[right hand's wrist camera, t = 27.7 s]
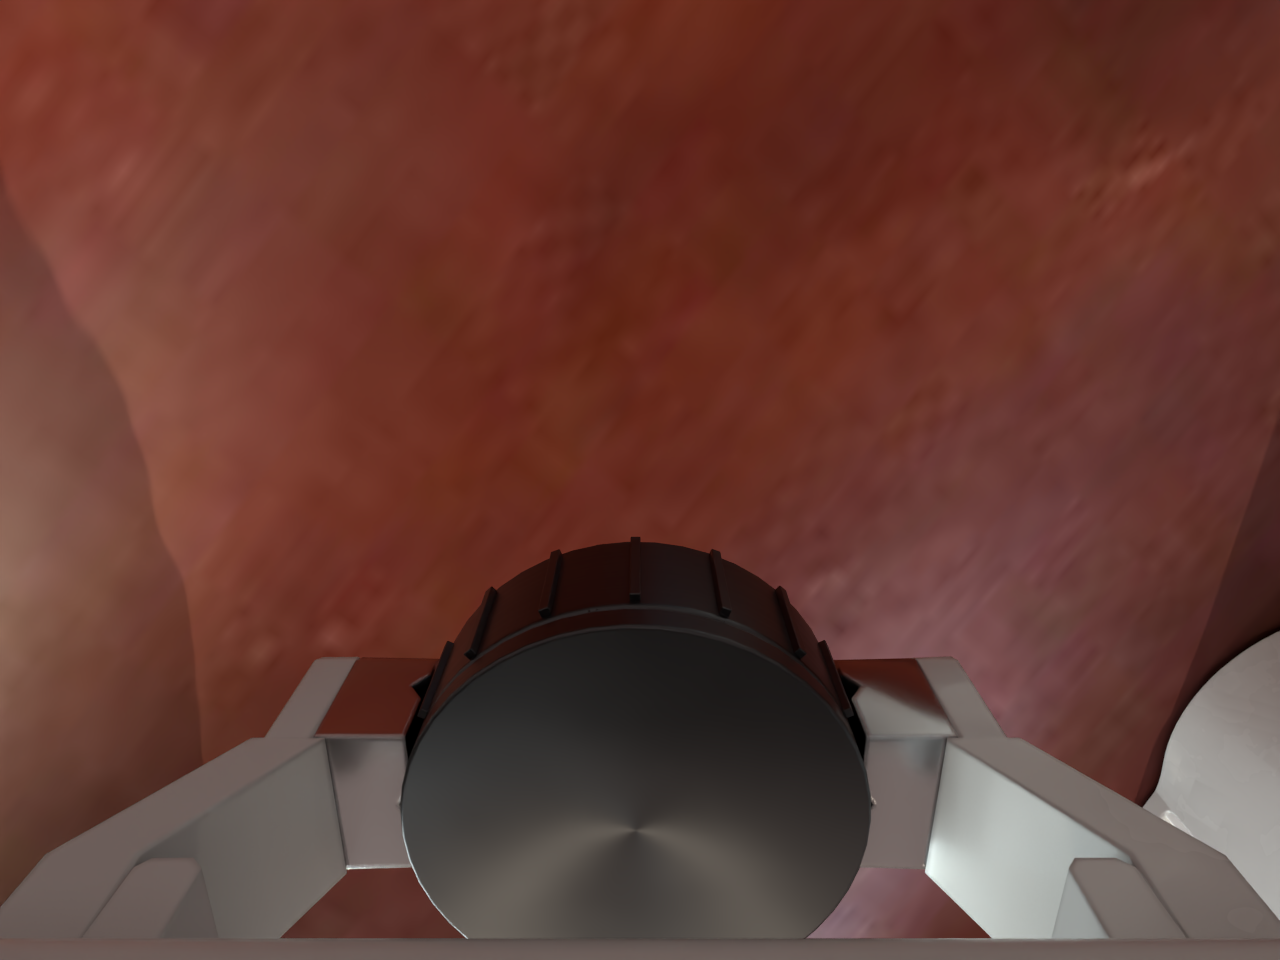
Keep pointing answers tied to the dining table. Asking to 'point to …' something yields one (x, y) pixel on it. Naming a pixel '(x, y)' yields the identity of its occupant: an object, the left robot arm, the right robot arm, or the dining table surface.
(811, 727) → the lid
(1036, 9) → the dining table surface
